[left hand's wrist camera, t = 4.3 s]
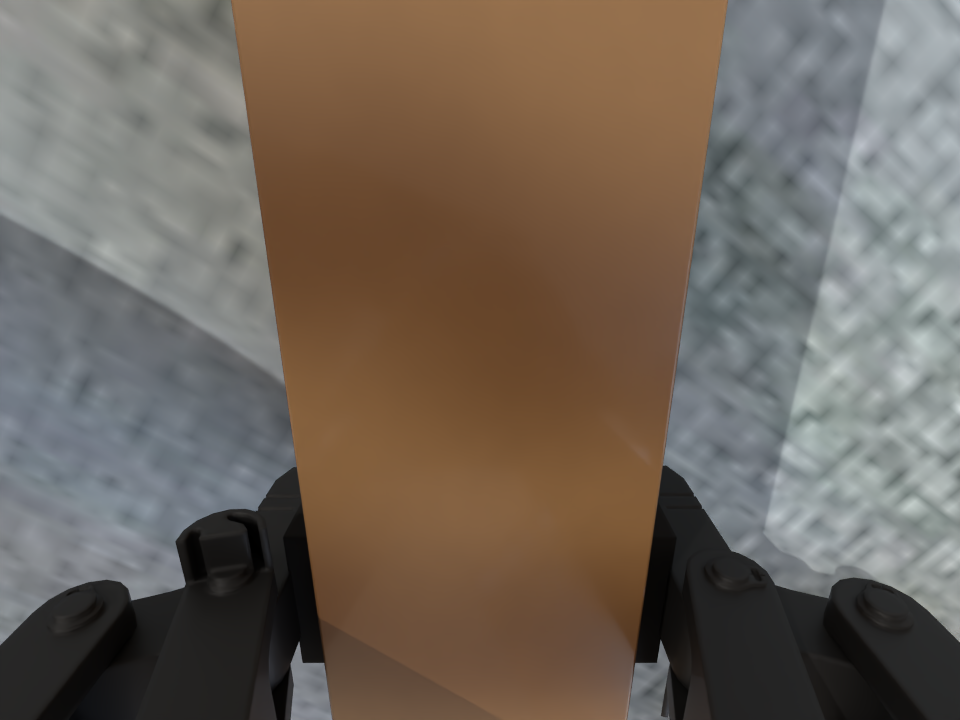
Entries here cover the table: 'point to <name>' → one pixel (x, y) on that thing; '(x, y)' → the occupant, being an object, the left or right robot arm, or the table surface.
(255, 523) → the left robot arm
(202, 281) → the table surface
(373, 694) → the post
